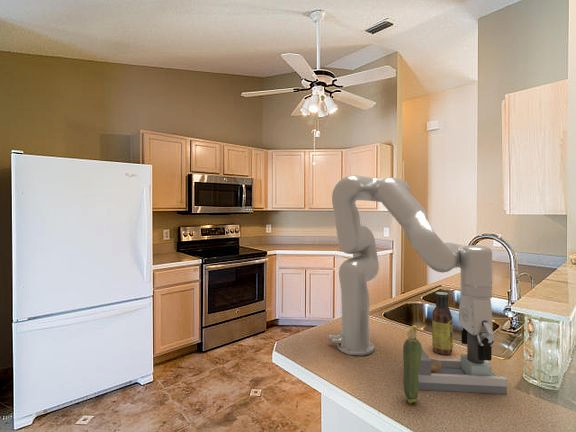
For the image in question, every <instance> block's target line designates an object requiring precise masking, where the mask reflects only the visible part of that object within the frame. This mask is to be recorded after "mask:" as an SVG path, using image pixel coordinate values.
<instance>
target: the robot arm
mask: <svg viewBox="0 0 576 432" xmlns="http://www.w3.org/2000/svg"><path fill="white" fill-rule="evenodd" d="M409 185H410V184H408V182H406V180H404V179H401V178H397V177H385V178H381V177H379V178H378V177H371V176H362V175H356V174H355V175H354V174H351V175H347V176H344V177H342V178H340V180H339V181H338V182H337V184H335V186H334V188H333V190H332V193H331V202H332V203H331V204H332V209H333V213H334V218H335V219H334V220H335V228H336V237H337V242H338V247H339V249H340V250H341V252H343V253H344V254H348V255H352V257H350V258H348V259H345V260H344V261H343V262H342V263H341V265H340V266H339V269H338V278H339V284H340V285H339V286H340V293H341V294H340V296H341V297H340V298H341V330H340V332H339V333H337V334H332V333H331V334H328V341H332V343H334V344H335V343H337V344H336V346H337V349H338V350H339V351H340V352H342V353H344V354H347V355H350V356H354V357H355V356H356V357H357V356H359V357H361V356H368V355H370V354H372V353H373V352H374V350H375V345H374V344H373V342H372V341H370V293H369V288H368V283H367V282H369V281H371V280H373V279H375V278H376V276H377V275H378V273H379V267H380V266H379V265H380V264H379V258H378V251H377V245H376V238H375V236H374V233H373V232H372V231H371V230H370V228H368V227H367V226H364V225H362V223H361V220H360V219H361V218H360V213H359V209H358V207H357V204H356V202H357V201H368V202H369V201H370V202H377V203H381V204H382V205H383V207H385V209H386V210H387V211H388V212H389V213H390V215H392V217H393V218H394V220H396V222H397V223H398V224H399V225H400V227H401V228H402V230H403V233H404V235H405V236H406V238H407V240H408V242H409V244H410V245H411V247H412V248H413V249H414V251H415V252H416V254H418V256H419V257H420V258H421V259H422V261H424V263H425V264H426V265H427V266H428V268H430V270H432V271H435V272H438V273H442V274H443V273H448V272H450V271H452V270H453V269H456V268H459V269H460V290H459V291H460V293H459V294H460V298H459V307H458V324H459V325H460V329H461V335H460V336H461V344H462V345H467V331H468V332H469V333H470V334H472V335H474V336H475V335H477V338H478V341H479V344H478V359H479V360H485V361H488V362H490V361H492V350H493V344H494V342H495V341H494V340H495V337H496V335H495V332H494V330H493V311H492V300H491V299H493V250H492V249H491V248H490V247H489V246H485V245H476V244H475V245H473V244H472V245H471V244H470V245H469V244H467V245H463V244H458V243H454V242H444V241H443V240H442V239H441V238H440V237H439V236H438V234H437V233H436V232H435V231H434V229H433V228H432V226H431V225H430V222H429V219H428V214H427V210H426V209H425V208H424V207H423V206H422V205H421V203H419V201H418V200H417V199H416V198H415V197H414V195H413V194H411V188H410V186H409ZM480 332H484V333H480ZM481 336H482V337H484V339H483V340H482V337H481Z"/></svg>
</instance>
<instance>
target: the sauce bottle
mask: <svg viewBox="0 0 576 432" xmlns="http://www.w3.org/2000/svg"><path fill="white" fill-rule="evenodd" d="M434 295H435V307H434V309H433V310H432V315H431V316H432V320H431V321H432V322H431V326H432V328H431V329H432V330H431V331H432V332H431V333H432V335H431V338H432V339H431V340H432V350H433V351H434V352H435V353H437V354H439V355H445V356H449V355H452V353H453V349H454V346H453V345H454V343H453V342H454V340H453V339H454V337H453V336H454V332H453V329H454V328H453V327H454V326H453V323H454V322H453V315H452V312H451V310H450V307H449V297H450V295H449V293H448V292H445V291H436V292H435V293H434Z"/></svg>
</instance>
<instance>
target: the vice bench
mask: <svg viewBox="0 0 576 432" xmlns="http://www.w3.org/2000/svg"><path fill="white" fill-rule="evenodd" d="M430 359H435V360H438V361H440V362H441V374H436V373H431V360H430ZM485 361H486V362H487V363H488V364H489V365H490V361H488V360H485ZM418 378H419V387H418V391H419V390H421V391H440V392H456V393H458V392H459V393H477V394H495V395H496V394H498V395H507V394H508V393H507V392H508V378H506V377H505V376H497V375H495V374H494V373H493V372H492V371H491V376H479V375H466V373H465V372H464V371H463V370H462V369H461V358H460V359H459V358H458V359H455V358H436V357H435V358H432V357H431V358H430V357H429V356H428V354H427V353H426V351H425V350H424V349H423V348H422V356H421V362H420V367H419V375H418Z"/></svg>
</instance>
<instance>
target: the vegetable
mask: <svg viewBox="0 0 576 432" xmlns="http://www.w3.org/2000/svg"><path fill="white" fill-rule="evenodd" d="M417 332H419V329H418V325H417V324H413V325H411V326H410V328H409V329H408V331H407V336H408V337H407V338H406V339H405V341H404V343H403V346H402V347H403V348H402V350H403V351H402V353H403V356H402V357H403V382H402V385H403V392H404V396H405V397H406V399H407V402H408V403H409V405H412V404H411V403H416V402H417V400H418V397H419V390H418V387H419V378H418V375H419V367H420V362H421V356H422V349H423V347H422V343H421V342H420V341H419V339H418V338H417Z"/></svg>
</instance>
